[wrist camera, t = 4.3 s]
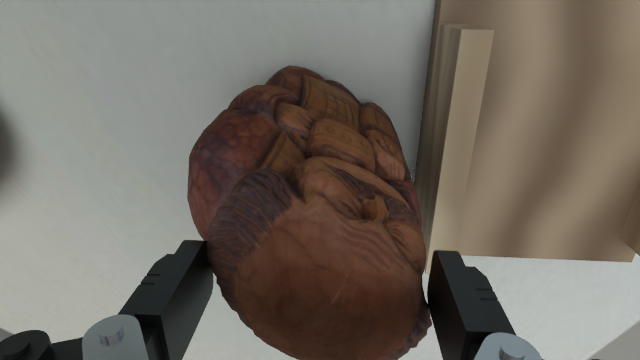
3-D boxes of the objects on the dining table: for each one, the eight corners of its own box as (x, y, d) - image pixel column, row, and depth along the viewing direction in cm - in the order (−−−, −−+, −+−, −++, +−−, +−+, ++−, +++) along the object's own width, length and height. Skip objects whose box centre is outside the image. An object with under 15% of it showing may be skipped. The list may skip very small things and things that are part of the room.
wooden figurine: (430, 135, 27) (557, 338, 11) (378, 204, 30) (417, 454, 13) (280, 43, 25) (161, 120, 9) (237, 125, 28) (83, 303, 11)
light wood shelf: (407, 242, 31) (421, 298, 25) (437, -14, 23) (468, -19, 18) (618, 250, 30) (685, 311, 24) (720, -12, 23) (852, -16, 17)
